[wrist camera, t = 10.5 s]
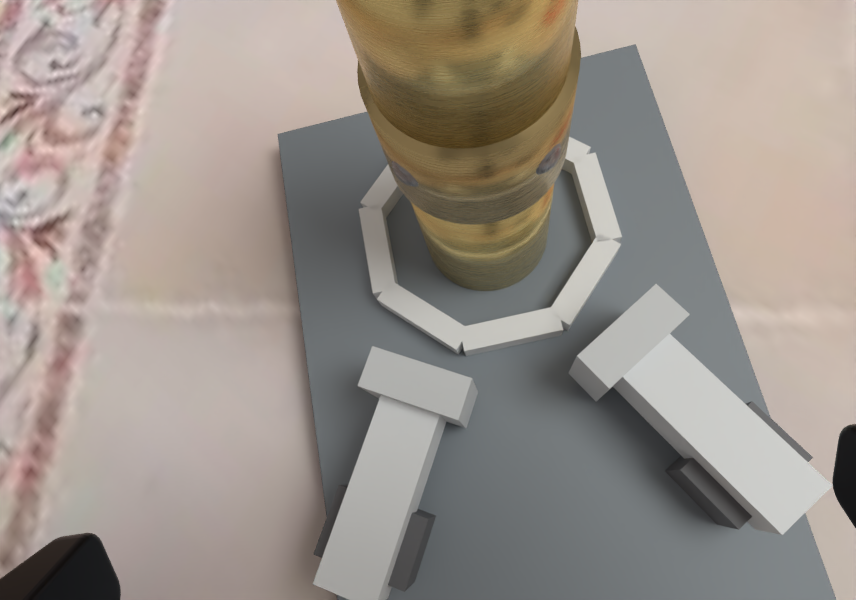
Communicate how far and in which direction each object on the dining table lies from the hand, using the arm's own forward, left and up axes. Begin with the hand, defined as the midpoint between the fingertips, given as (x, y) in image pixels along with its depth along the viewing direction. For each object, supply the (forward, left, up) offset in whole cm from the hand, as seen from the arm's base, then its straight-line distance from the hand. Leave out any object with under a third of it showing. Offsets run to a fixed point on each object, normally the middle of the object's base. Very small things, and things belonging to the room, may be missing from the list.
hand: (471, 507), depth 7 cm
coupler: (+4, -8, -12) cm, 15 cm away
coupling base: (+1, -5, -13) cm, 14 cm away
